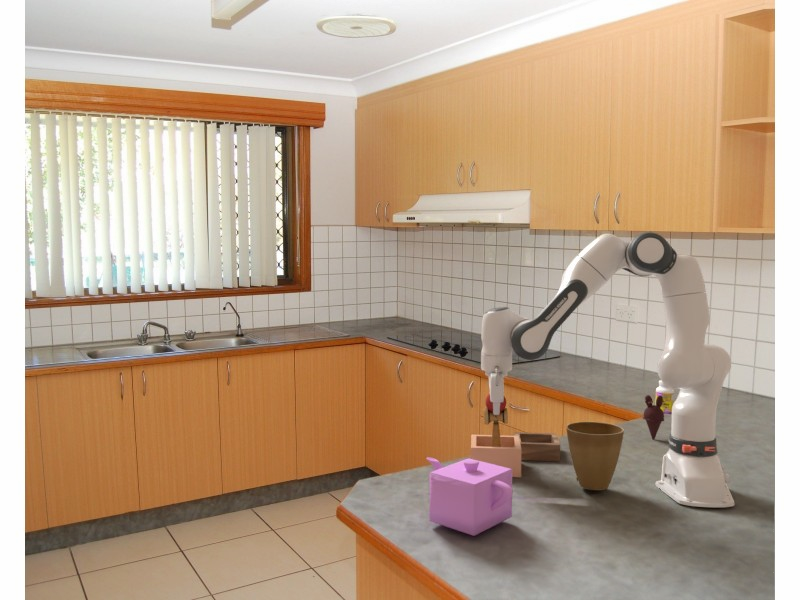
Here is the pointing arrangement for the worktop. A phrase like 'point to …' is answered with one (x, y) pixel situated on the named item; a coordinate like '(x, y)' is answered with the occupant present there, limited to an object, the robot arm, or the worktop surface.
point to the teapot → (470, 495)
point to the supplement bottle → (665, 397)
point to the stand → (498, 452)
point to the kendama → (495, 419)
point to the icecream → (653, 414)
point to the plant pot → (594, 452)
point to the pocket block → (539, 446)
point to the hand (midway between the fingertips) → (496, 411)
